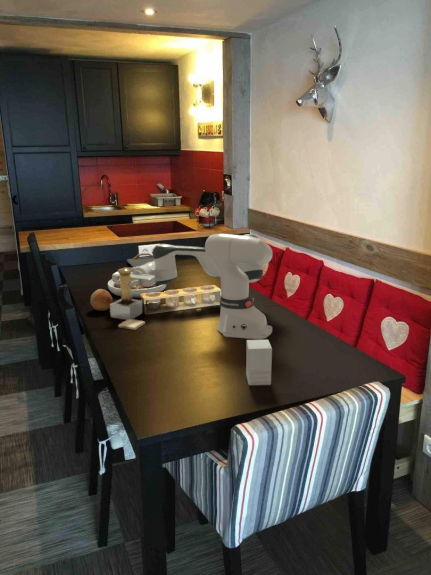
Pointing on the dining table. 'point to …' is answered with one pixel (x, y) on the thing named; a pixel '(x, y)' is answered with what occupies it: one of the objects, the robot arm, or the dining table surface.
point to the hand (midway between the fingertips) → (124, 283)
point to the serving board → (140, 260)
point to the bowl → (135, 289)
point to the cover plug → (125, 285)
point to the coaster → (131, 324)
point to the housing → (126, 309)
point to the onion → (101, 300)
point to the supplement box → (258, 362)
